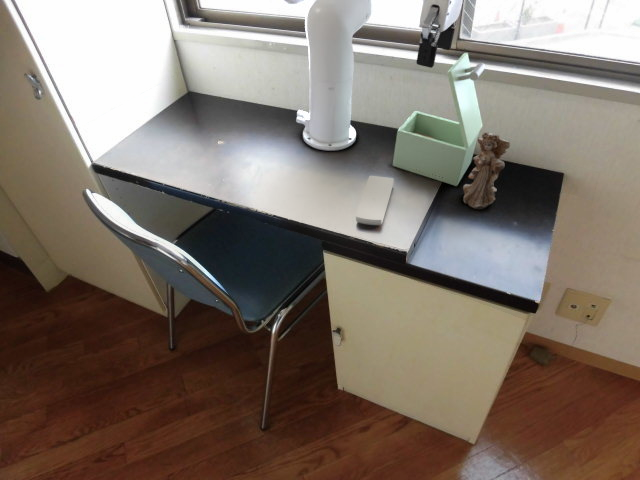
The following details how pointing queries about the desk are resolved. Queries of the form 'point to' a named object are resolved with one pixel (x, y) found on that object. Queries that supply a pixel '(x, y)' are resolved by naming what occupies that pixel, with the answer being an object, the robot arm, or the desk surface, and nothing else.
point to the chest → (433, 148)
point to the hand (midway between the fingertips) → (433, 56)
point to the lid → (466, 97)
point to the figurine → (485, 171)
